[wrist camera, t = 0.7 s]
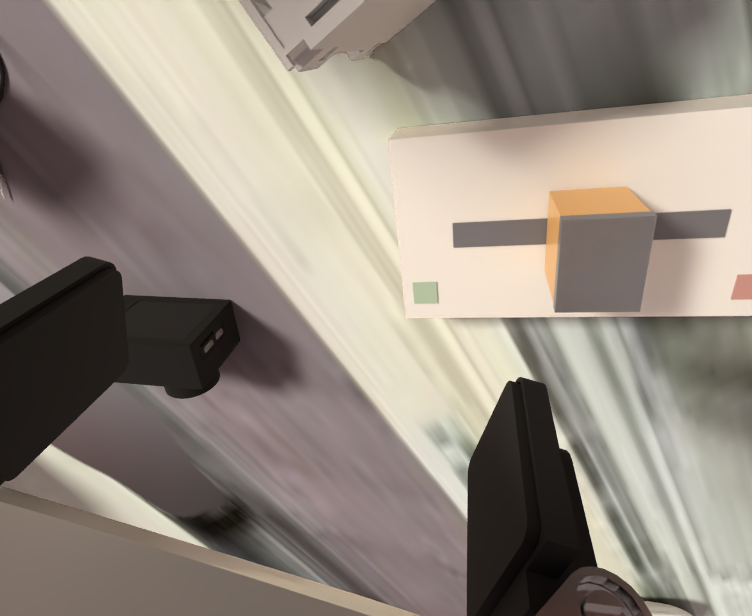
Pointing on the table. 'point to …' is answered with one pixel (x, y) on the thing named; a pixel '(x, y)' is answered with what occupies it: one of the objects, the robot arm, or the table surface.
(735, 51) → the table surface
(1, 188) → the multimeter
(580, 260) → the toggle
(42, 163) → the table surface
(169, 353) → the digital camera
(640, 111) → the slider base
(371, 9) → the circuit breaker
